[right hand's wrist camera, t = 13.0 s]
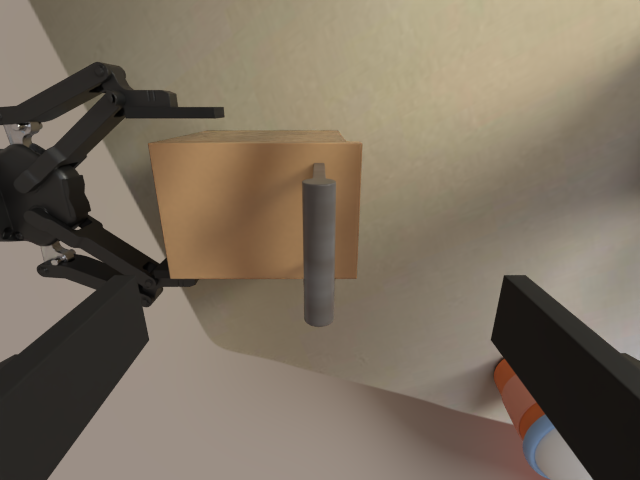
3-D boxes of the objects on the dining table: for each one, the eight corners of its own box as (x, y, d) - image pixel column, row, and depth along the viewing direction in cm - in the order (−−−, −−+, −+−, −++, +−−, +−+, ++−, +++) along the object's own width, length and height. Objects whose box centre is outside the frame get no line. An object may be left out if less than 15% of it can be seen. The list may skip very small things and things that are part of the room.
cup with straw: (476, 401, 46) (569, 574, 29) (485, 342, 42) (595, 498, 25) (548, 399, 45) (682, 571, 29) (562, 340, 42) (723, 495, 25)
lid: (360, 141, 23) (382, 160, 15) (355, 272, 27) (371, 344, 19) (155, 141, 23) (67, 160, 15) (176, 272, 27) (113, 344, 19)
